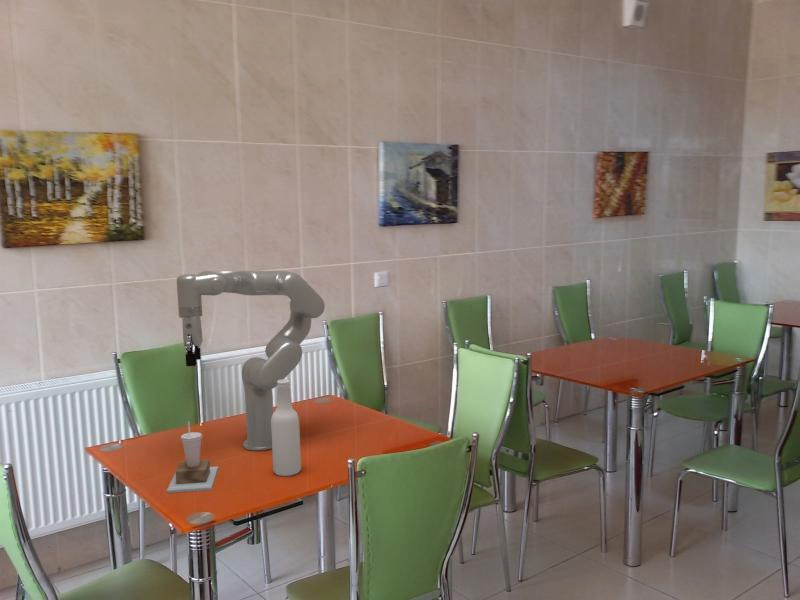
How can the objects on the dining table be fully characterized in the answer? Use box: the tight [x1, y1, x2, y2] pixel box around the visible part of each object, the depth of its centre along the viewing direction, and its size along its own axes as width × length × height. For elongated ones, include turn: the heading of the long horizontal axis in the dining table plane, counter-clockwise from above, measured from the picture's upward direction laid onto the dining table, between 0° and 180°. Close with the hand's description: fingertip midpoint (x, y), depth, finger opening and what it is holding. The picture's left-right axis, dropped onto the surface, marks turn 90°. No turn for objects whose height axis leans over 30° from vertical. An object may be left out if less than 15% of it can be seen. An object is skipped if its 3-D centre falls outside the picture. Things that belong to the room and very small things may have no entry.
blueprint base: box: [166, 459, 219, 494], centre depth 230 cm, size 13×18×5 cm
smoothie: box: [180, 421, 203, 467], centre depth 229 cm, size 6×6×14 cm
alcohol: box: [271, 378, 302, 477], centre depth 234 cm, size 9×9×30 cm
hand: (193, 362), depth 246 cm, fingers open, 9 cm apart
